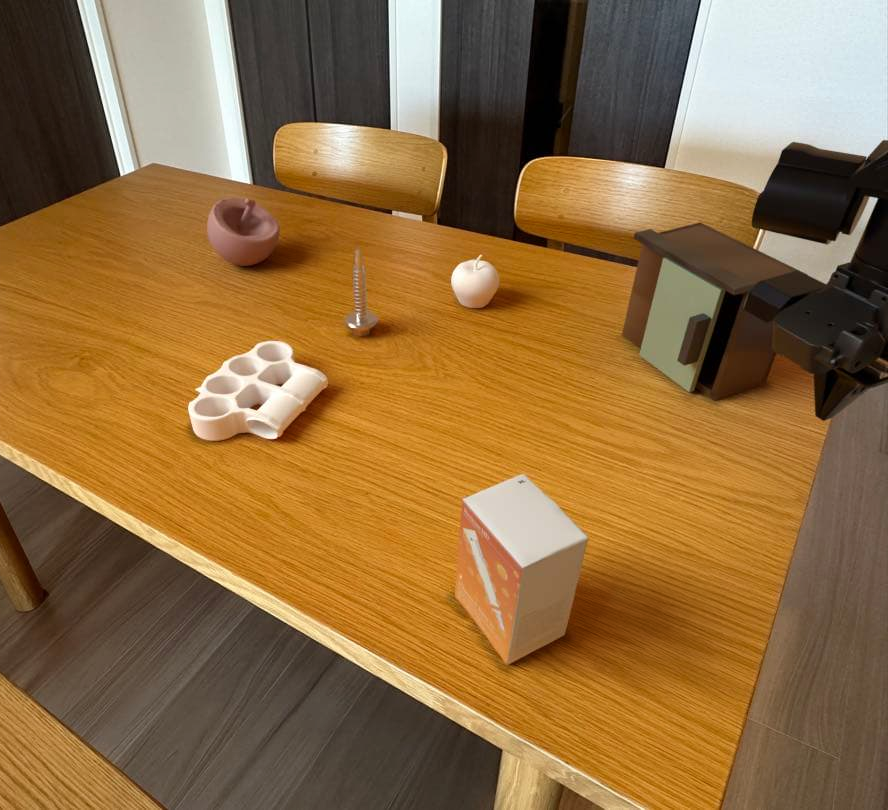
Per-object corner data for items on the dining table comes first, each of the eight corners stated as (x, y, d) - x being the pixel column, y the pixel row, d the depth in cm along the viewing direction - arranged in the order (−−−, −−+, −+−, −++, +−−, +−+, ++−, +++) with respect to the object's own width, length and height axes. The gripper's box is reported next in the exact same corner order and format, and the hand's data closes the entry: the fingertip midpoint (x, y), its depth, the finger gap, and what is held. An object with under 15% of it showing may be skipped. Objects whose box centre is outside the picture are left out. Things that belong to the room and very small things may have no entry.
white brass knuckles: (264, 461, 79) (166, 426, 85) (341, 378, 91) (251, 352, 97) (260, 439, 77) (160, 405, 83) (340, 357, 89) (247, 332, 95)
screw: (359, 319, 103) (385, 329, 100) (338, 334, 100) (364, 344, 97) (354, 238, 95) (383, 246, 92) (332, 251, 92) (360, 260, 89)
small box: (453, 597, 64) (459, 497, 55) (509, 570, 66) (524, 470, 57) (506, 668, 58) (522, 568, 50) (567, 636, 60) (592, 535, 52)
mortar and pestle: (266, 281, 114) (257, 215, 107) (201, 274, 117) (188, 209, 110) (293, 249, 123) (286, 186, 116) (232, 244, 126) (221, 182, 119)
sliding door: (694, 390, 85) (726, 289, 76) (675, 396, 84) (706, 294, 75) (643, 353, 91) (668, 256, 83) (626, 359, 91) (649, 261, 82)
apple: (479, 319, 101) (483, 269, 96) (440, 304, 105) (442, 255, 100) (506, 300, 105) (511, 252, 100) (468, 286, 109) (471, 239, 104)
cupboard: (765, 383, 86) (810, 267, 76) (697, 406, 83) (736, 289, 73) (672, 323, 98) (701, 216, 88) (611, 340, 95) (634, 232, 85)
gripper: (720, 233, 57) (676, 384, 67) (947, 345, 44) (850, 515, 53) (822, 208, 60) (765, 356, 70) (1065, 305, 46) (952, 473, 56)
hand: (823, 417), depth 62 cm, fingers closed
